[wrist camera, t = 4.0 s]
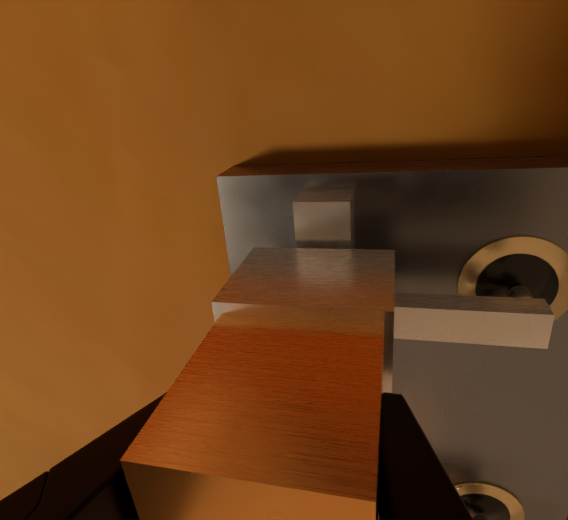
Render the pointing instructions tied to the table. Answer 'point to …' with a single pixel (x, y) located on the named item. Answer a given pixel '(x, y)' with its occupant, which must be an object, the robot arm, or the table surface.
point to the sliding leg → (300, 387)
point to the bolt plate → (449, 281)
